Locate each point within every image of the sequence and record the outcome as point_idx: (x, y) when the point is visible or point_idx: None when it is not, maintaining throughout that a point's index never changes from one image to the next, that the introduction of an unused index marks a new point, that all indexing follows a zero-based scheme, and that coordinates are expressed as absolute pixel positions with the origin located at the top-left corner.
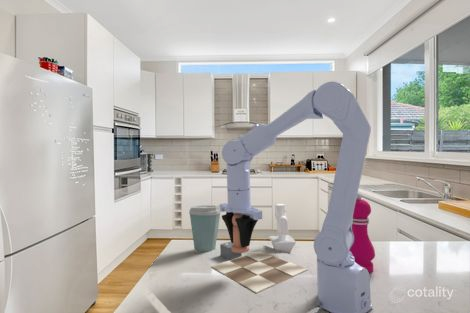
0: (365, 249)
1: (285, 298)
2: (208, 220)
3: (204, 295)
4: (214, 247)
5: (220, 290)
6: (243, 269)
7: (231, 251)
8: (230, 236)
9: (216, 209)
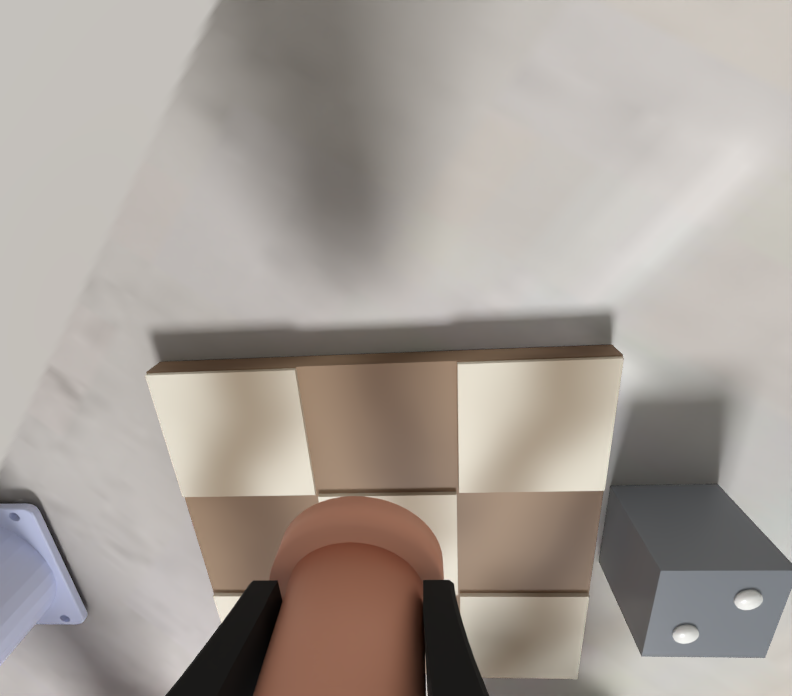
0: None
1: (102, 456)
2: None
3: (337, 132)
4: None
5: (336, 253)
6: (434, 483)
7: (641, 559)
8: (444, 642)
9: None
